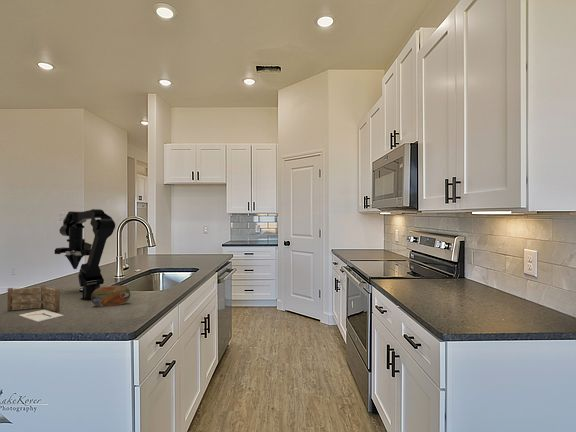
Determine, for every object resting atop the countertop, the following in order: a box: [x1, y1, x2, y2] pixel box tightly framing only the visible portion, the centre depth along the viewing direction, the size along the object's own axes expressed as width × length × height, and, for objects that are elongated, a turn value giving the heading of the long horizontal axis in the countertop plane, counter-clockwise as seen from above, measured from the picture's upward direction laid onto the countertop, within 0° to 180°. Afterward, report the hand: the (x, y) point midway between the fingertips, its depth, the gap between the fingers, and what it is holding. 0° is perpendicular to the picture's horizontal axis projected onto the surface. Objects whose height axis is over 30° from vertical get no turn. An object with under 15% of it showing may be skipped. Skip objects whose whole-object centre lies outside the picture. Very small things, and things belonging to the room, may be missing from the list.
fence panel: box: [6, 286, 41, 311], centre depth 141 cm, size 11×2×8 cm, turn 119°
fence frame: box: [40, 284, 61, 313], centre depth 141 cm, size 12×2×9 cm, turn 60°
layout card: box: [18, 309, 64, 323], centre depth 133 cm, size 14×9×1 cm, turn 60°
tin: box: [91, 284, 131, 308], centre depth 150 cm, size 15×3×8 cm, turn 117°
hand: (75, 269), depth 169 cm, fingers closed
